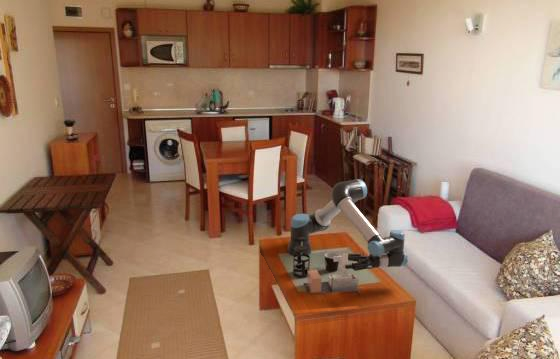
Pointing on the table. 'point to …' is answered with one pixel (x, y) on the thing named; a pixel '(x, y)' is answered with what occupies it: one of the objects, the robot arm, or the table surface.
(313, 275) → the socket block
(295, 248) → the french press
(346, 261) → the bar
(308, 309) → the table surface
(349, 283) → the slotted sleeve
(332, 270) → the coffee mug
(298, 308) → the table surface
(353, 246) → the table surface
